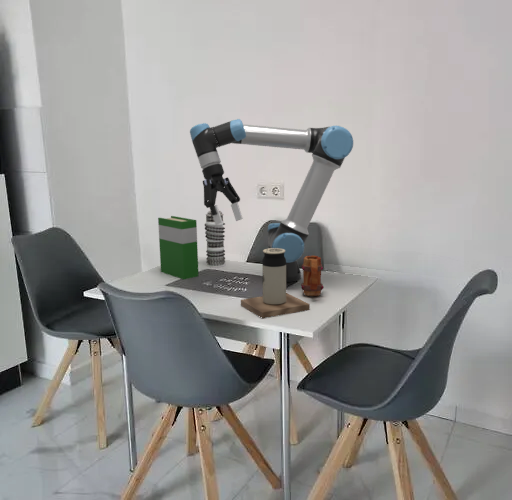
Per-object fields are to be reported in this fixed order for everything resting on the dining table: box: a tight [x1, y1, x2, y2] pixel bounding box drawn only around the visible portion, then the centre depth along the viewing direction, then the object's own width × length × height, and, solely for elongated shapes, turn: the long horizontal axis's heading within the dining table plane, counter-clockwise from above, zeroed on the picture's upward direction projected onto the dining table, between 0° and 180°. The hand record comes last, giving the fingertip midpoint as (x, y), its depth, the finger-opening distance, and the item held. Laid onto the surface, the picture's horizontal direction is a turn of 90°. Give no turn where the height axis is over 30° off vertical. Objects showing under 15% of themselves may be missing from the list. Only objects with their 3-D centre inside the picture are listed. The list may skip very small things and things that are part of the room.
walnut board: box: [240, 292, 311, 319], centre depth 185 cm, size 18×16×2 cm
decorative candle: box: [204, 210, 226, 268], centre depth 245 cm, size 9×9×25 cm
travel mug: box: [261, 248, 287, 305], centre depth 183 cm, size 8×8×18 cm
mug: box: [300, 255, 325, 297], centre depth 195 cm, size 15×8×15 cm, turn 178°
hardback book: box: [157, 215, 199, 280], centre depth 230 cm, size 18×7×24 cm, turn 42°
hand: (229, 221), depth 196 cm, fingers open, 13 cm apart
